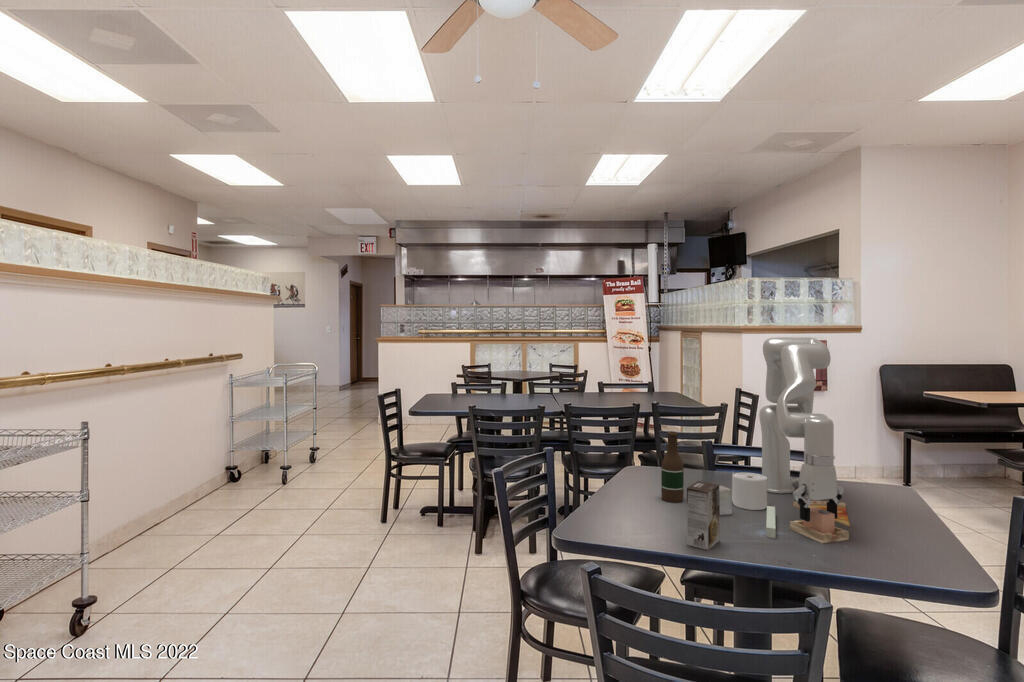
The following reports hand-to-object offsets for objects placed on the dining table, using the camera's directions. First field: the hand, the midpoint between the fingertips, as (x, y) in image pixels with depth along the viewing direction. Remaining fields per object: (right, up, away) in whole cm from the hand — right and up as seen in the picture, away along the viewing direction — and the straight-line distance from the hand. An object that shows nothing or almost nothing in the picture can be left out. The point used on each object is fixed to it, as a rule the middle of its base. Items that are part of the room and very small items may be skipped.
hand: (818, 518), depth 161 cm
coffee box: (-36, -5, -6) cm, 37 cm away
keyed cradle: (0, -5, 0) cm, 5 cm away
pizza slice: (+11, -5, +19) cm, 23 cm away
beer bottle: (-33, -4, +34) cm, 48 cm away
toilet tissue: (-9, -4, +28) cm, 29 cm away
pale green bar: (-10, -5, +7) cm, 14 cm away
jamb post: (-21, -4, +20) cm, 30 cm away
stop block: (0, -4, 0) cm, 4 cm away
